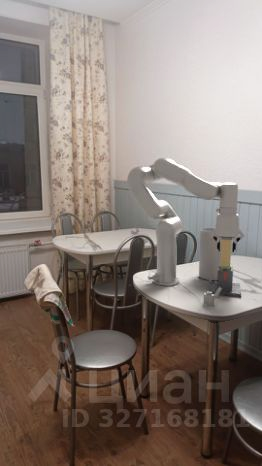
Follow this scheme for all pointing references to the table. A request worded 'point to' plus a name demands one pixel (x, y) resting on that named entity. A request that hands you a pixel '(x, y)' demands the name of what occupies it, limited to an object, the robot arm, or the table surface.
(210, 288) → the stand base
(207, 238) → the cylinder vase
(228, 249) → the column
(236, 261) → the table surface
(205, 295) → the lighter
